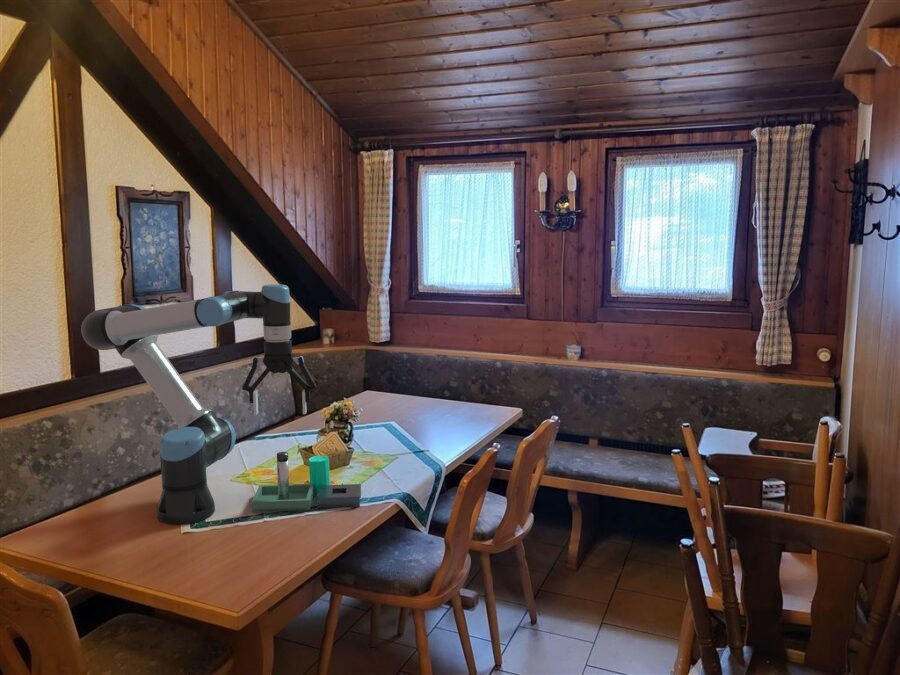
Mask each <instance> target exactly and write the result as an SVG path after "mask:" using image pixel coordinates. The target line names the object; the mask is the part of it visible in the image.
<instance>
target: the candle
mask: <svg viewBox="0 0 900 675" xmlns="http://www.w3.org/2000/svg"><path fill="white" fill-rule="evenodd" d="M308 469H309V470H308V471H309V472H308V473H309V484H314V493H315V494H316V495H318V492H319V488H320V485H331V476H330V459H329V456H327V455H320V454H319V453H318V454H317V455H313V456H312V457H310V458H309V459H308ZM315 494H314V495H315Z"/></svg>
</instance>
